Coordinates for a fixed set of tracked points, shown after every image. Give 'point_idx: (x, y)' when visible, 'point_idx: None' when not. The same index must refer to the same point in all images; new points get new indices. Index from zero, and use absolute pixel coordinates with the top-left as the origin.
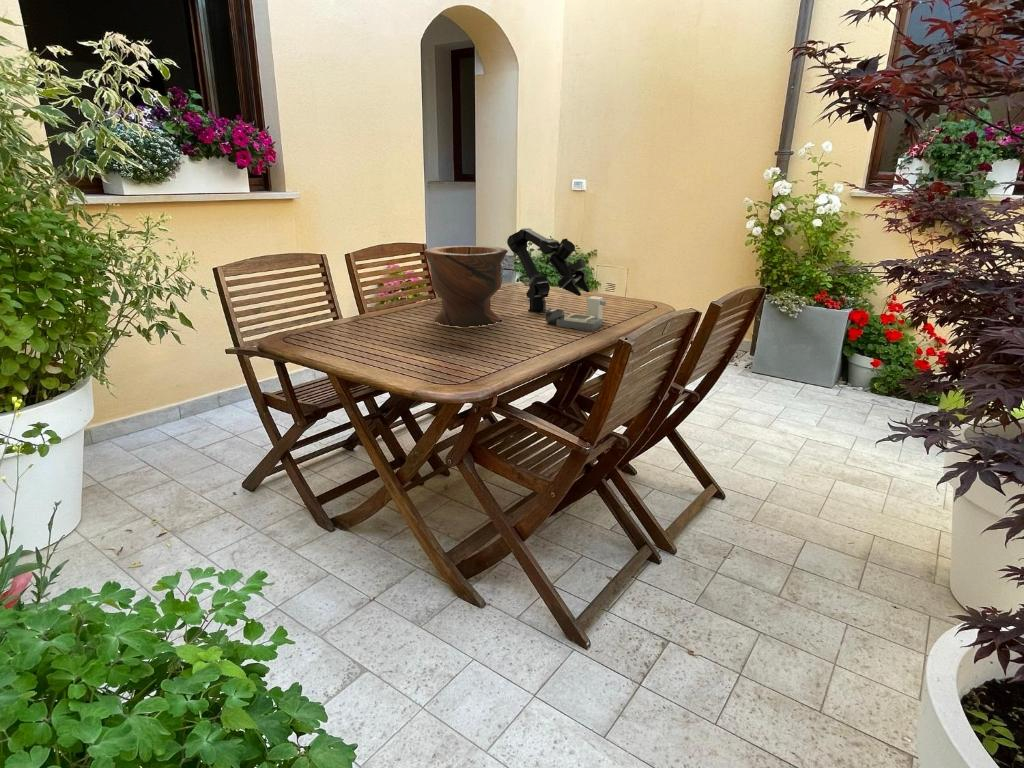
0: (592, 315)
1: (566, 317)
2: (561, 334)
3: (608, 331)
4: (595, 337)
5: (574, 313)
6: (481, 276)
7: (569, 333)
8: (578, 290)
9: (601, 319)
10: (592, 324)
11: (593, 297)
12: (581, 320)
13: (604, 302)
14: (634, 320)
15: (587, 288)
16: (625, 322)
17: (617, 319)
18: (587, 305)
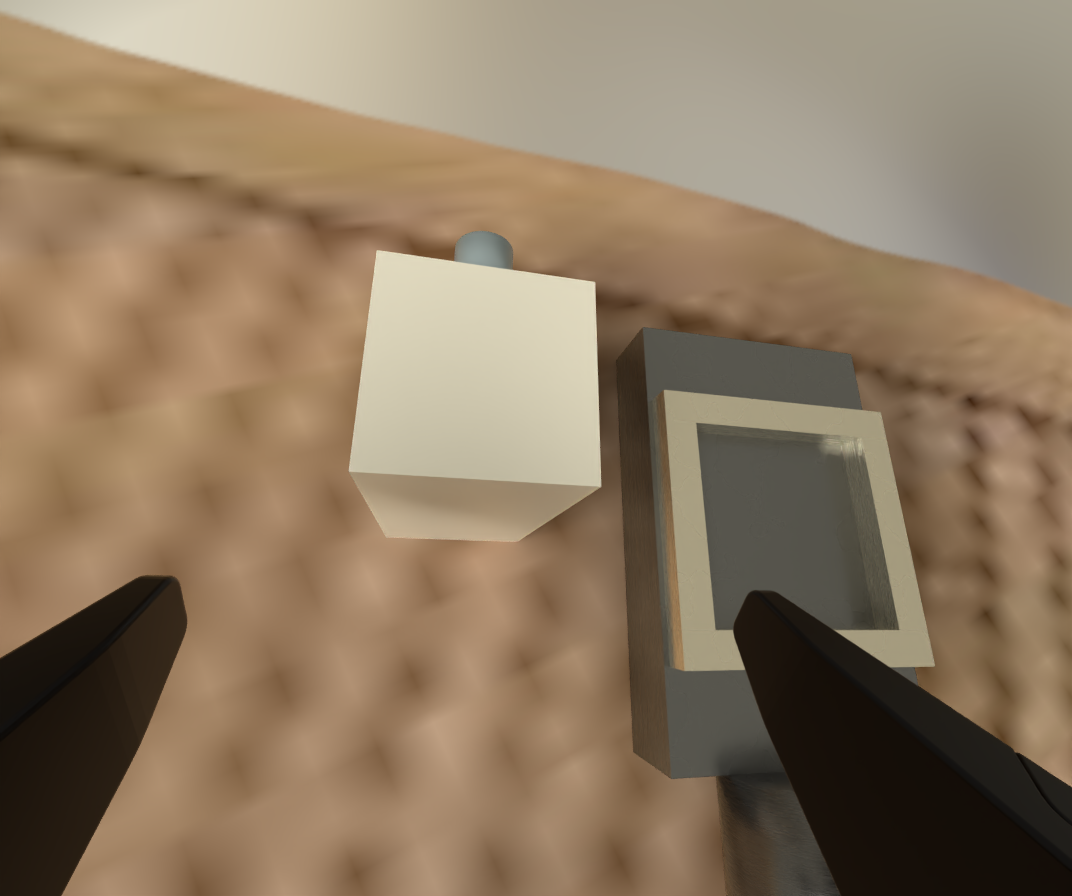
0: (666, 415)
1: (905, 648)
2: (1013, 572)
3: (739, 283)
4: (918, 329)
5: (688, 649)
6: None
7: (955, 526)
8: (873, 672)
9: (662, 330)
10: (847, 364)
11: (480, 404)
12: (886, 459)
13: (507, 248)
14: (273, 149)
15: (113, 650)
16: (390, 209)
17: (289, 286)
18: (564, 508)
